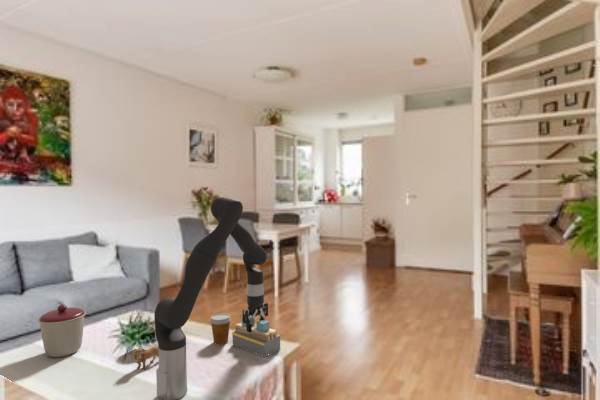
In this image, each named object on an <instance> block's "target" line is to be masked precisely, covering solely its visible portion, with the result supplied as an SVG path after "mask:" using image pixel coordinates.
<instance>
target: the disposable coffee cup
mask: <svg viewBox="0 0 600 400" xmlns="http://www.w3.org/2000/svg"><path fill="white" fill-rule="evenodd" d="M231 319H232V318H231V315H230V313H229V314H228V313H223V312H221V313H215V314H213V315H211V317H210V319H209V323H210V324H211V330H212V332H211V333H212V337H213V343H216V344H215V345H217V344H222V345H225V344H227V343H228V342H229V333H230V323H231ZM224 343H225V344H224Z"/></svg>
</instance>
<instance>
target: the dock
mask: <svg viewBox="0 0 600 400" xmlns="http://www.w3.org/2000/svg"><path fill="white" fill-rule="evenodd" d="M231 335H232V346H233V347H237V348H239V347H240V349H242V348H243V349H242V350H244V351H247V350H248V352H250V353H253V352H254V353H253V354H255V353H257V354H256V355H258V354H260V355H259V356H261V355H263V356H266V355H268V354H269V355H271V354H273V353H275V352H277V351H279V350H281V335H280V334H277V337H276V338H274V339H272V340H270V341H268V342H267V341H264V340H261V339H258V338H255V337H253V336H250V335H247V334H244V333H241V332H238V331H236V330H234V331H232V332H231ZM269 355H268V356H269ZM263 356H262V357H263ZM266 357H267V356H266Z"/></svg>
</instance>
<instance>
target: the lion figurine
mask: <svg viewBox="0 0 600 400" xmlns="http://www.w3.org/2000/svg"><path fill="white" fill-rule="evenodd" d="M131 358H132V361H133V362H134V363H136V364H138V365H137V367H136V368H137V369H140V368H141V366H142V368H141V370H142V371H144V370H146V361H147V360H149V359H151V358H152V359H151V360H150V361H149V362H150V363H154V361H155V359H156V358H159V355H158V345H156V346H155V347H152V348H150V349H148V350H144V349H140V348H138V349H135V350H133V351H132V352H131Z"/></svg>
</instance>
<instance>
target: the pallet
mask: <svg viewBox="0 0 600 400" xmlns="http://www.w3.org/2000/svg"><path fill="white" fill-rule="evenodd" d="M246 329H247V328H246V326H242V321H241V322H238V323H236V324H235V331H238V332H241V333H244V334H247V335H250V336H253V337H255V338H258V339H261V340H264V341H267V342H268V341H270V340H272V339H274V338H276V337H277V335H278V331H277V330H276V329H274V328H271V327H270V329H269V330H267V331H265V332H261V331H258V330H257V323H255V325H253V326H252V332H247V330H246Z"/></svg>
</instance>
